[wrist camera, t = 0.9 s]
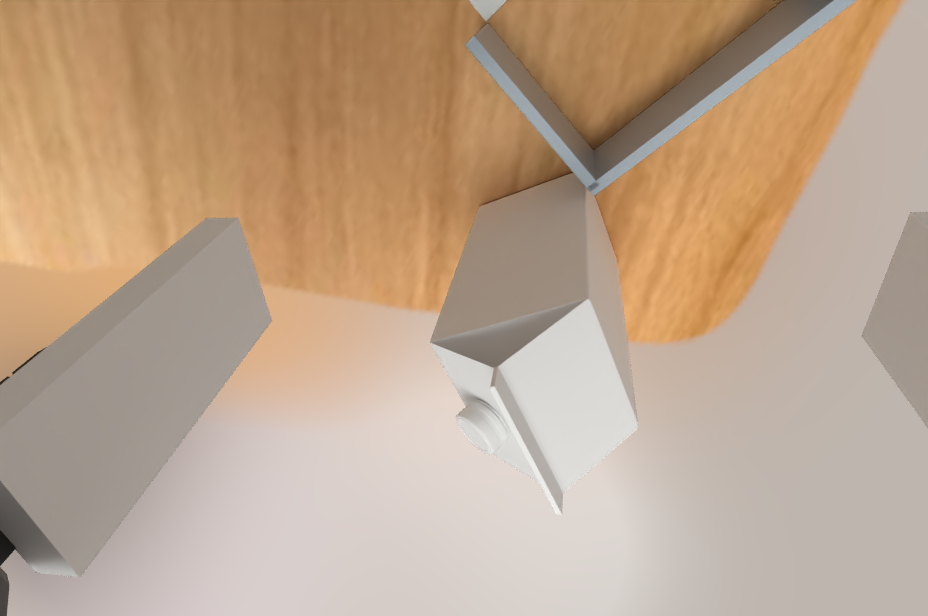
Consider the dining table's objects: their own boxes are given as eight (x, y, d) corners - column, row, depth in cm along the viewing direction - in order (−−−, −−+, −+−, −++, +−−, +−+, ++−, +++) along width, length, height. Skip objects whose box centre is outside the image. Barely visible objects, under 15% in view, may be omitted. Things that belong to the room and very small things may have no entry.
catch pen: (480, 31, 31) (465, 45, 26) (700, -199, 24) (725, -228, 20) (591, 164, 33) (593, 196, 29) (813, -9, 27) (856, 0, 23)
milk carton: (585, 166, 34) (591, 363, 18) (618, 264, 37) (649, 504, 21) (478, 204, 36) (403, 407, 21) (518, 293, 39) (480, 526, 24)
